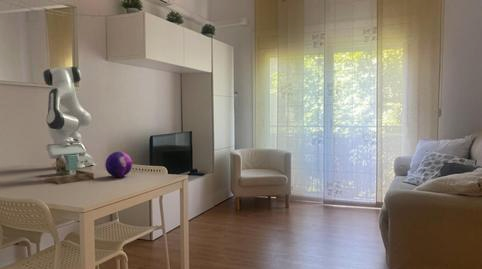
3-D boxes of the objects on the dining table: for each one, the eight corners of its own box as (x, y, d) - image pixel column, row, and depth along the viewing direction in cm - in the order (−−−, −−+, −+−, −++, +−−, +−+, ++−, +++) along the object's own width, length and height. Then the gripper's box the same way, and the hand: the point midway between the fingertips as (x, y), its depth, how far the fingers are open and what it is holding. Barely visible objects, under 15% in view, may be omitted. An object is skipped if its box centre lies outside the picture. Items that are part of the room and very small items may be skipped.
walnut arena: (78, 175, 218) (78, 169, 218) (93, 179, 208) (93, 173, 207) (44, 180, 203) (44, 174, 203) (59, 184, 192) (59, 177, 192)
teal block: (74, 168, 208) (74, 154, 208) (77, 169, 206) (77, 155, 205) (65, 169, 204) (65, 155, 204) (69, 170, 202) (68, 156, 201)
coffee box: (55, 174, 222) (55, 148, 221) (61, 172, 228) (61, 147, 227) (70, 174, 221) (69, 148, 220) (75, 173, 227) (75, 147, 226)
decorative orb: (121, 173, 226) (121, 149, 225) (137, 176, 217) (137, 151, 216) (100, 177, 213) (99, 152, 212) (116, 180, 205) (115, 153, 204)
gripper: (46, 140, 200) (55, 160, 195) (82, 139, 216) (91, 156, 211) (43, 148, 203) (51, 167, 198) (78, 146, 219) (87, 163, 214)
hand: (72, 162), depth 204 cm, fingers closed on teal block, 5 cm apart
